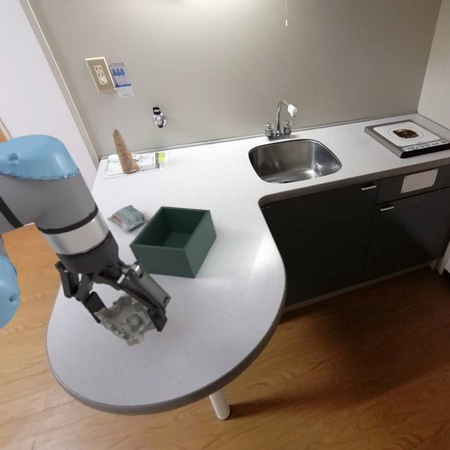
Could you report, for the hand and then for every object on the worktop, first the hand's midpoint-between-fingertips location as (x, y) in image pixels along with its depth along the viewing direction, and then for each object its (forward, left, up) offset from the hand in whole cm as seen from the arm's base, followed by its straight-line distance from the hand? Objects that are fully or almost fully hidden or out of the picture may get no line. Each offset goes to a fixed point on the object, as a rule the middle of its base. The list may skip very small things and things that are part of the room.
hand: (133, 321), depth 60 cm
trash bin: (-8, +31, -13) cm, 35 cm away
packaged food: (-32, +42, -14) cm, 55 cm away
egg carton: (0, 0, 0) cm, 0 cm away
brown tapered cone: (-52, +76, -14) cm, 93 cm away
